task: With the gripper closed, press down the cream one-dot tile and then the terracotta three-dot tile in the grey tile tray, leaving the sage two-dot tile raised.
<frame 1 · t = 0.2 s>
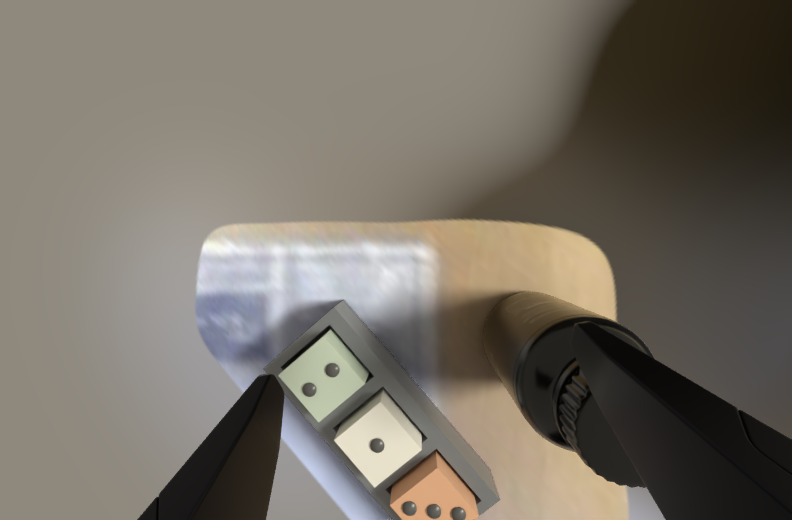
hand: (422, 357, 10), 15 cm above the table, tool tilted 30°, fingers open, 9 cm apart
tile two dots: (326, 372, 22), point 3 cm above the table, slide at 0.0 cm
tile three dots: (433, 496, 22), point 3 cm above the table, slide at 0.0 cm
grey tile tray: (384, 410, 25), on the table
tile one dot: (379, 434, 22), point 3 cm above the table, slide at 0.0 cm
supplement bottle: (527, 335, 24), on the table
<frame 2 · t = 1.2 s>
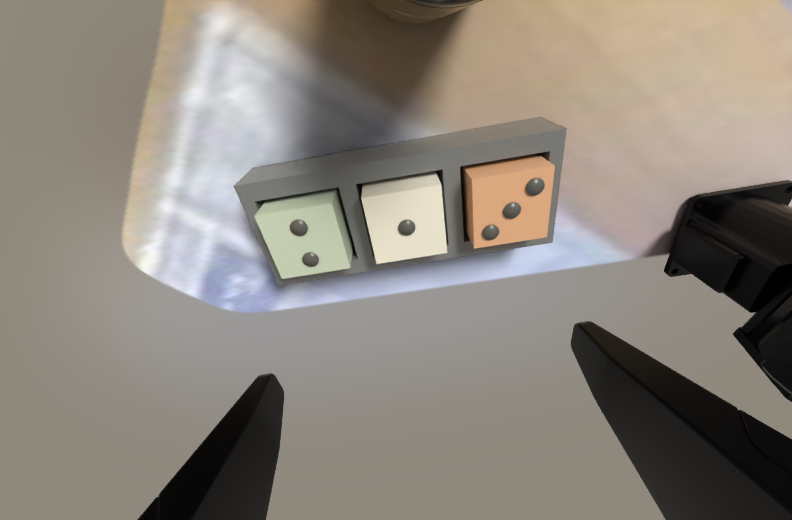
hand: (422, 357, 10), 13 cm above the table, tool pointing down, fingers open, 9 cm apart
tile two dots: (309, 233, 18), point 3 cm above the table, slide at 0.0 cm
tile three dots: (504, 200, 18), point 3 cm above the table, slide at 0.0 cm
grey tile tray: (401, 195, 21), on the table
tile one dot: (405, 217, 18), point 3 cm above the table, slide at 0.0 cm
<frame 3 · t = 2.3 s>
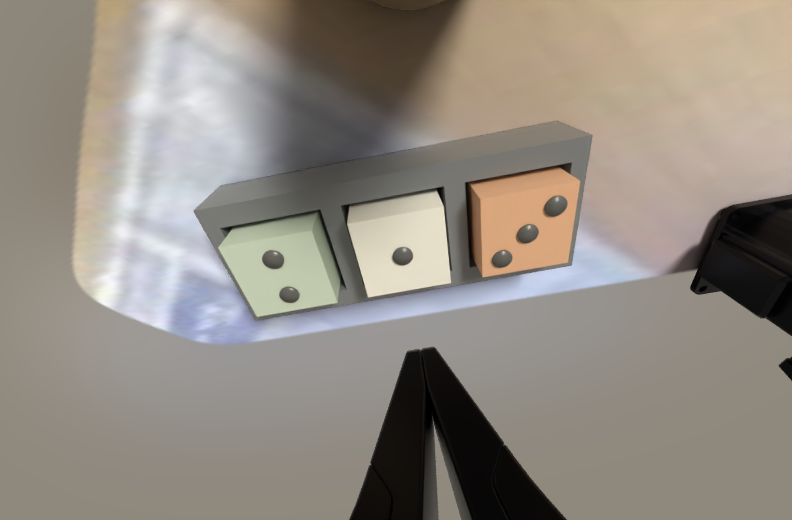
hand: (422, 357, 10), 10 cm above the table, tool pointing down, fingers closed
tile two dots: (287, 262, 16), point 3 cm above the table, slide at 0.0 cm
tile three dots: (517, 220, 15), point 3 cm above the table, slide at 0.0 cm
grey tile tray: (396, 213, 18), on the table
tile one dot: (400, 241, 15), point 3 cm above the table, slide at 0.0 cm
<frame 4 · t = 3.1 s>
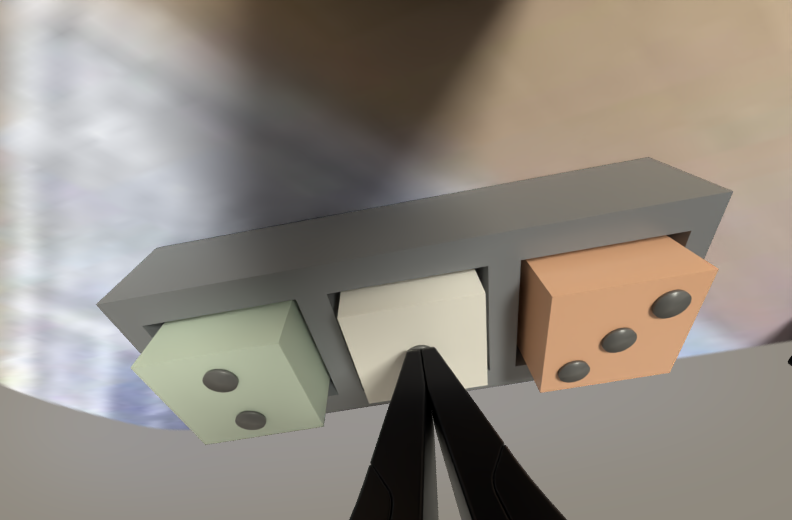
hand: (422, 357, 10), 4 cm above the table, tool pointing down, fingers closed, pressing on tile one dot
tile two dots: (250, 366, 11), point 3 cm above the table, slide at 0.0 cm
tile three dots: (593, 309, 10), point 3 cm above the table, slide at 0.0 cm
grey tile tray: (408, 280, 13), on the table
tile one dot: (415, 326, 11), point 3 cm above the table, slide at 0.6 cm, touching gripper
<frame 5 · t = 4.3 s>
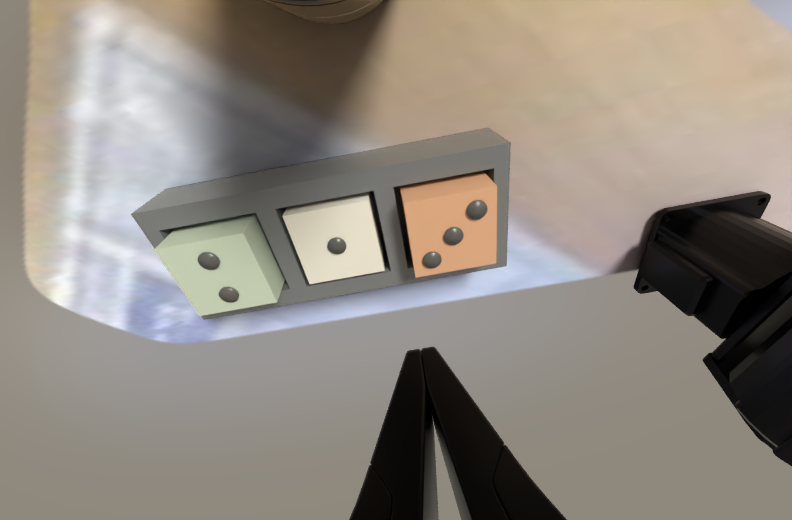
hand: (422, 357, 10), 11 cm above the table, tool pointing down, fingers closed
tile two dots: (228, 263, 16), point 3 cm above the table, slide at 0.0 cm
tile three dots: (447, 223, 16), point 3 cm above the table, slide at 0.0 cm
grey tile tray: (341, 216, 19), on the table
tile one dot: (338, 233, 17), point 2 cm above the table, slide at 1.0 cm
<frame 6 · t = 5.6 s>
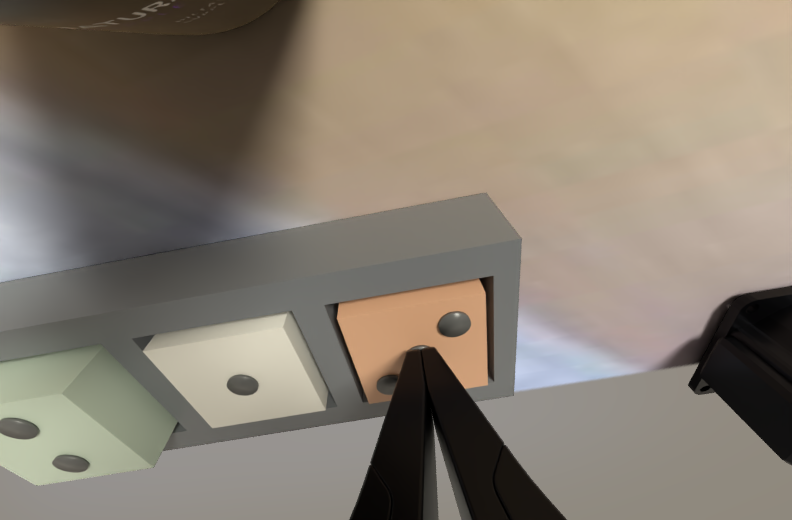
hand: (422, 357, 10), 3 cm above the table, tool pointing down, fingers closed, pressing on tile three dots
tile two dots: (78, 406, 10), point 3 cm above the table, slide at 0.0 cm
tile three dots: (415, 326, 11), point 2 cm above the table, slide at 1.0 cm, touching gripper
grey tile tray: (270, 311, 13), on the table
tile one dot: (255, 353, 11), point 2 cm above the table, slide at 1.0 cm
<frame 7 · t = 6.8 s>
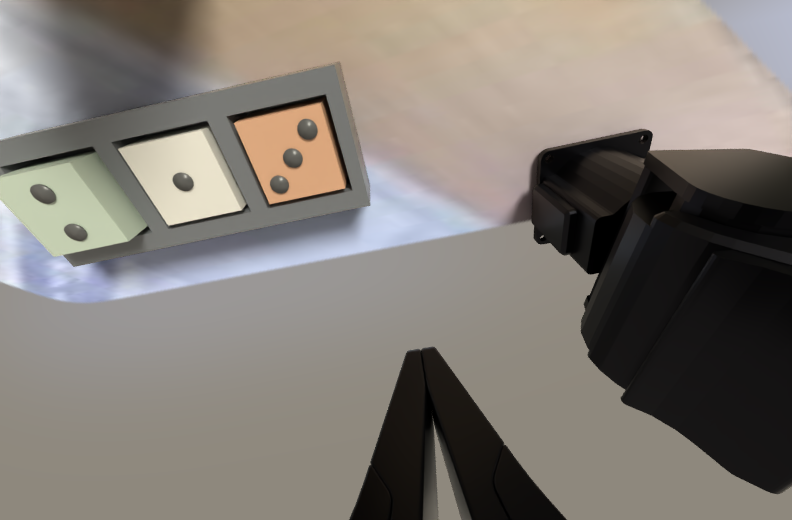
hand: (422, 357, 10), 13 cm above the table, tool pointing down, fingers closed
tile two dots: (80, 203, 16), point 3 cm above the table, slide at 0.0 cm
tile three dots: (297, 151, 17), point 2 cm above the table, slide at 1.0 cm
grey tile tray: (210, 161, 19), on the table
tile one dot: (194, 173, 17), point 2 cm above the table, slide at 1.0 cm
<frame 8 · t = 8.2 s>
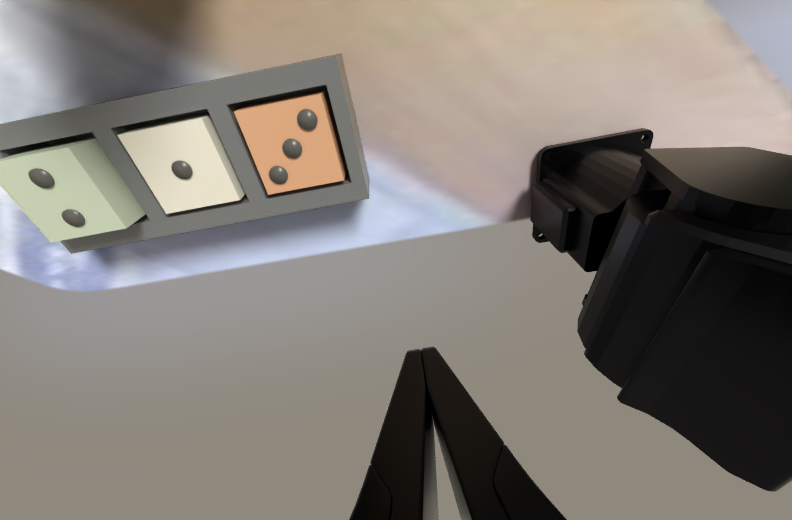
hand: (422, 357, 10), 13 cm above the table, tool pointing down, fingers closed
tile two dots: (78, 189, 16), point 3 cm above the table, slide at 0.0 cm
tile three dots: (297, 142, 17), point 2 cm above the table, slide at 1.0 cm
grey tile tray: (210, 151, 18), on the table
tile one dot: (193, 162, 17), point 2 cm above the table, slide at 1.0 cm
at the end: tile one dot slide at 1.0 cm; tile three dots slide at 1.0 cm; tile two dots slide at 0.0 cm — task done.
